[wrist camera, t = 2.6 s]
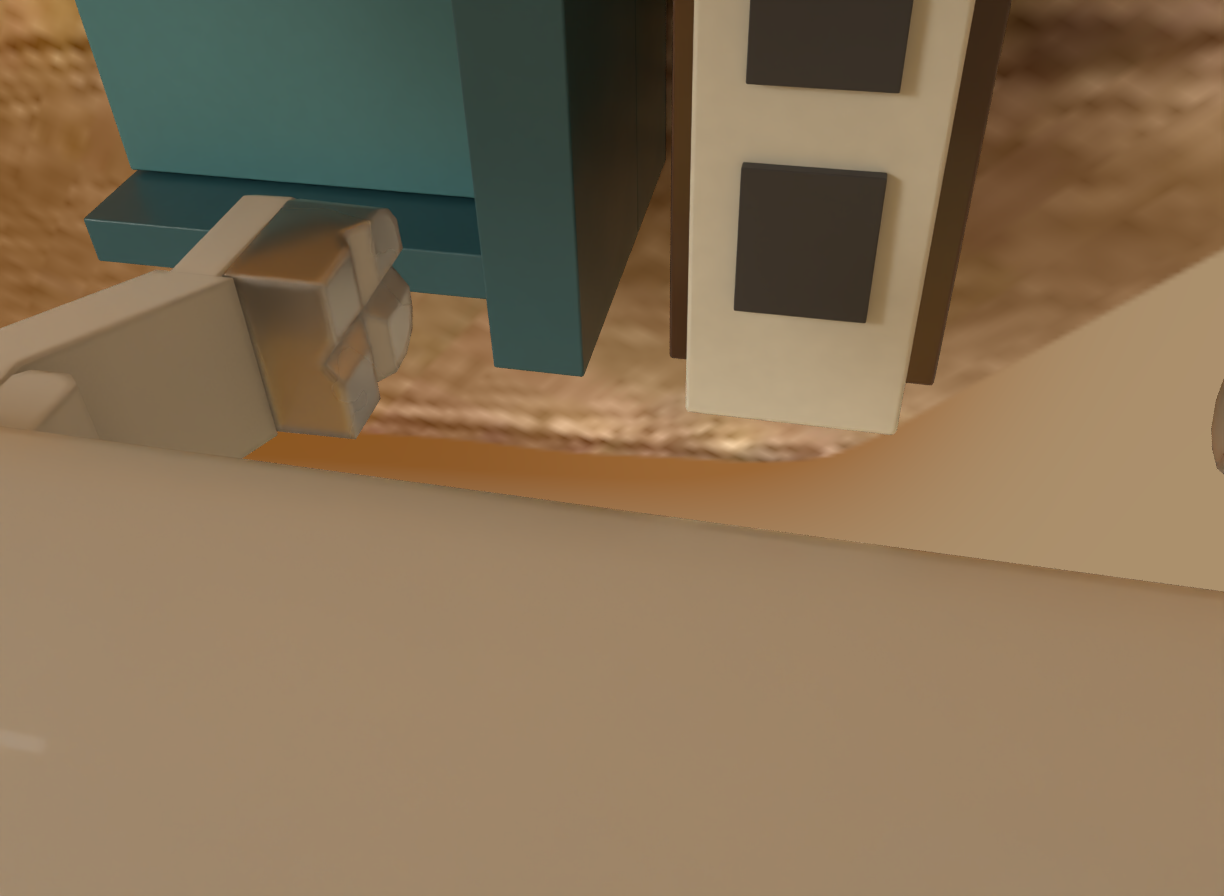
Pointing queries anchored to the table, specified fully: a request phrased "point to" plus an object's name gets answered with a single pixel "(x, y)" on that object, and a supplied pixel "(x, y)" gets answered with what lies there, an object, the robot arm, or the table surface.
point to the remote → (815, 202)
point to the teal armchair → (402, 139)
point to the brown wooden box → (952, 200)
